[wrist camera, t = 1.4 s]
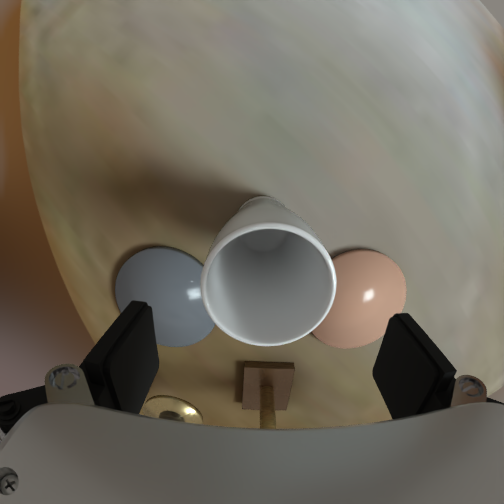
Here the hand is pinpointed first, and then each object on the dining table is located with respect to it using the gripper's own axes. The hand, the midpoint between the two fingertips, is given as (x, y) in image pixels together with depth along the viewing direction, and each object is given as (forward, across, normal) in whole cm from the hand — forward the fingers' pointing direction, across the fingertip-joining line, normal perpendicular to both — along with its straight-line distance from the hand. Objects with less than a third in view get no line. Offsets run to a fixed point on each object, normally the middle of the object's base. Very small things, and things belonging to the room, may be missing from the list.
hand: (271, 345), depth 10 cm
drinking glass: (+19, 0, -1) cm, 19 cm away
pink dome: (+19, -11, +7) cm, 23 cm away
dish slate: (+19, +10, +8) cm, 23 cm away
